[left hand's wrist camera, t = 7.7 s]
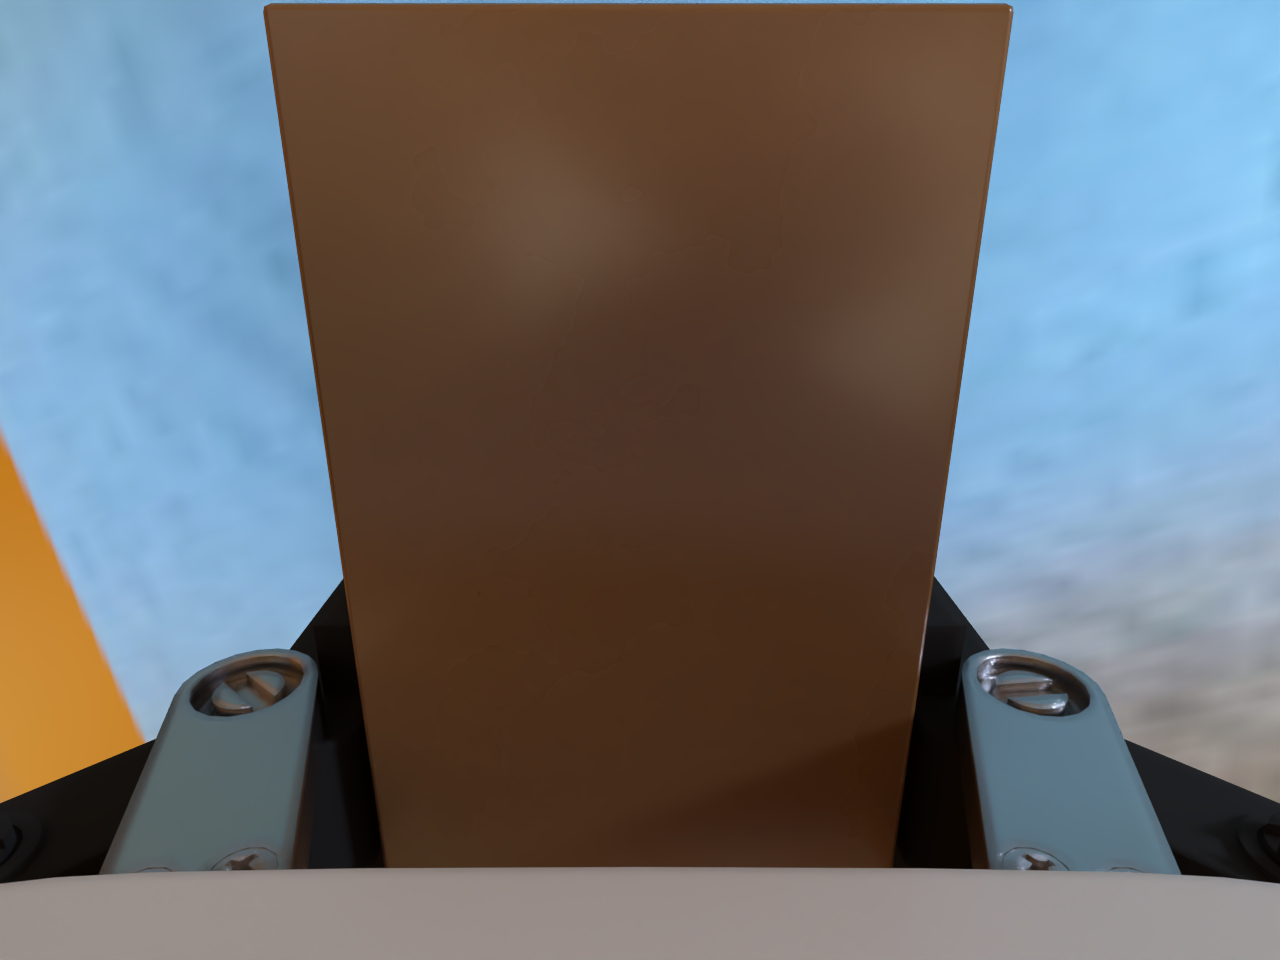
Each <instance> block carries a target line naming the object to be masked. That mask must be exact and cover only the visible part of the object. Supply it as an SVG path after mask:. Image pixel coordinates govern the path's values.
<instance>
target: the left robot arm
mask: <svg viewBox="0 0 1280 960" xmlns="http://www.w3.org/2000/svg"><path fill="white" fill-rule="evenodd" d="M0 960H1280V803H1277V802H1275V801H1272V800H1270V799H1268V798H1265V797H1263V796H1260V795H1258V794H1255V793H1253V792H1251V791H1248V790H1246V789H1243V788H1241V787H1239V786H1236V785H1234V784H1231V783H1229V782H1226V781H1224V780H1222V779H1219V778H1217V777H1214V776H1212V775H1210V774H1207V773H1205V772H1202V771H1200V770H1198V769H1195V768H1193V767H1190V766H1188V765H1185V764H1183V763H1181V762H1178V761H1176V760H1173V759H1171V758H1169V757H1166V756H1164V755H1161V754H1159V753H1156V752H1154V751H1152V750H1149V749H1147V748H1144V747H1142V746H1140V745H1137V744H1135V743H1132V742H1130V741H1128V740H1125V739H1124V738H1123V735H1122V733H1121V731H1120V728H1119V726H1118V724H1117V721H1116V719H1115V717H1114V714H1113V712H1112V710H1111V707H1110V705H1109V702H1108V700H1107V698H1106V696H1105V694H1104V693H1103V691H1102V690H1101V688H1100V687H1099V685H1098V684H1097V683H1096V682H1095V681H1093V680H1092V679H1091V678H1090V677H1088V676H1087V675H1086V674H1085V673H1084V672H1082V671H1080V670H1078V669H1076V668H1075V667H1073V666H1071V665H1069V664H1067V663H1065V662H1063V661H1060V660H1057V659H1055V658H1052V657H1049V656H1046V655H1044V654H1039V653H1034V652H1030V651H1025V650H1016V649H993V650H990V649H989V648H988V647H987V645H986V644H985V643H984V641H983V640H982V639H981V637H980V636H979V635H978V633H977V632H976V631H975V629H974V628H973V627H972V625H971V624H970V623H969V621H968V620H967V619H966V617H965V616H964V615H963V614H962V612H961V611H960V610H959V608H958V607H957V606H956V604H955V603H954V602H953V600H952V599H951V598H950V596H949V595H948V594H947V592H946V591H945V590H944V588H943V587H942V586H941V585H940V583H939V582H938V581H937V579H936V578H935V577H934V578H933V585H932V592H931V599H930V606H929V614H928V621H927V628H926V635H925V642H924V649H923V656H922V663H921V670H920V677H919V684H918V692H917V699H916V706H915V713H914V720H913V727H912V734H911V741H910V748H909V755H908V762H907V770H906V777H905V784H904V791H903V798H902V805H901V812H900V819H899V826H898V833H897V840H896V848H895V855H894V862H893V868H751V867H529V868H385V867H384V860H383V852H382V845H381V838H380V831H379V824H378V817H377V810H376V803H375V796H374V789H373V782H372V775H371V768H370V761H369V754H368V747H367V740H366V733H365V726H364V718H363V711H362V704H361V697H360V690H359V683H358V676H357V669H356V662H355V655H354V648H353V641H352V634H351V627H350V620H349V613H348V606H347V599H346V591H345V584H344V579H343V580H342V581H341V582H340V584H339V585H338V586H337V588H336V589H335V590H334V592H333V593H332V594H331V596H330V597H329V598H328V600H327V601H326V602H325V604H324V605H323V606H322V608H321V609H320V610H319V612H318V613H317V614H316V615H315V617H314V618H313V619H312V621H311V622H310V623H309V625H308V626H307V627H306V629H305V630H304V631H303V633H302V634H301V635H300V637H299V638H298V639H297V641H296V642H295V643H294V644H293V646H292V647H291V648H290V650H287V649H264V650H255V651H250V652H246V653H241V654H236V655H234V656H231V657H228V658H225V659H223V660H220V661H217V662H215V663H213V664H211V665H209V666H207V667H205V668H204V669H202V670H200V671H198V672H196V673H195V674H194V675H193V676H192V677H190V678H189V679H188V680H187V681H185V682H184V683H183V684H182V685H181V687H180V688H179V690H178V691H177V693H176V694H175V696H174V698H173V700H172V702H171V705H170V707H169V710H168V712H167V714H166V717H165V719H164V721H163V724H162V726H161V728H160V731H159V733H158V735H157V738H156V739H154V740H152V741H150V742H147V743H145V744H142V745H140V746H138V747H135V748H133V749H130V750H128V751H125V752H123V753H121V754H118V755H116V756H113V757H111V758H109V759H106V760H104V761H101V762H99V763H97V764H94V765H92V766H89V767H87V768H84V769H82V770H80V771H77V772H75V773H72V774H70V775H68V776H65V777H63V778H60V779H58V780H56V781H53V782H51V783H48V784H46V785H44V786H41V787H39V788H36V789H34V790H31V791H29V792H27V793H24V794H22V795H19V796H17V797H15V798H12V799H10V800H7V801H5V802H3V803H0Z"/></svg>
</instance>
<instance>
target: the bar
mask: <svg viewBox="0 0 1280 960" xmlns="http://www.w3.org/2000/svg"><path fill="white" fill-rule="evenodd" d="M263 13H264V20H265V27H266V34H267V41H268V48H269V55H270V62H271V70H272V77H273V84H274V91H275V98H276V105H277V112H278V119H279V126H280V133H281V140H282V147H283V154H284V161H285V168H286V175H287V182H288V189H289V196H290V204H291V211H292V218H293V225H294V232H295V239H296V246H297V253H298V260H299V267H300V274H301V281H302V288H303V295H304V302H305V309H306V316H307V323H308V330H309V338H310V345H311V352H312V359H313V366H314V373H315V380H316V387H317V394H318V401H319V408H320V415H321V422H322V429H323V436H324V443H325V450H326V457H327V465H328V472H329V479H330V486H331V493H332V500H333V507H334V514H335V521H336V528H337V535H338V542H339V549H340V556H341V563H342V570H343V577H344V584H345V591H346V599H347V606H348V613H349V620H350V627H351V634H352V641H353V648H354V655H355V662H356V669H357V676H358V683H359V690H360V697H361V704H362V711H363V718H364V726H365V733H366V740H367V747H368V754H369V761H370V768H371V775H372V782H373V789H374V796H375V803H376V810H377V817H378V824H379V831H380V838H381V845H382V852H383V860H384V867H385V868H529V867H751V868H893V862H894V855H895V848H896V840H897V833H898V826H899V819H900V812H901V805H902V798H903V791H904V784H905V777H906V770H907V762H908V755H909V748H910V741H911V734H912V727H913V720H914V713H915V706H916V699H917V692H918V684H919V677H920V670H921V663H922V656H923V649H924V642H925V635H926V628H927V621H928V614H929V606H930V599H931V592H932V585H933V578H934V571H935V564H936V557H937V550H938V543H939V536H940V529H941V521H942V514H943V507H944V500H945V493H946V486H947V479H948V472H949V465H950V458H951V451H952V443H953V436H954V429H955V422H956V415H957V408H958V401H959V394H960V387H961V380H962V373H963V365H964V358H965V351H966V344H967V337H968V330H969V323H970V316H971V309H972V302H973V295H974V287H975V280H976V273H977V266H978V259H979V252H980V245H981V238H982V231H983V224H984V217H985V209H986V202H987V195H988V188H989V181H990V174H991V167H992V160H993V153H994V146H995V139H996V132H997V124H998V117H999V110H1000V103H1001V96H1002V89H1003V82H1004V75H1005V68H1006V61H1007V54H1008V46H1009V39H1010V32H1011V25H1012V18H1013V7H1012V6H1010V5H1008V4H1006V3H271V4H269V5H267V6H264V12H263Z"/></svg>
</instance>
